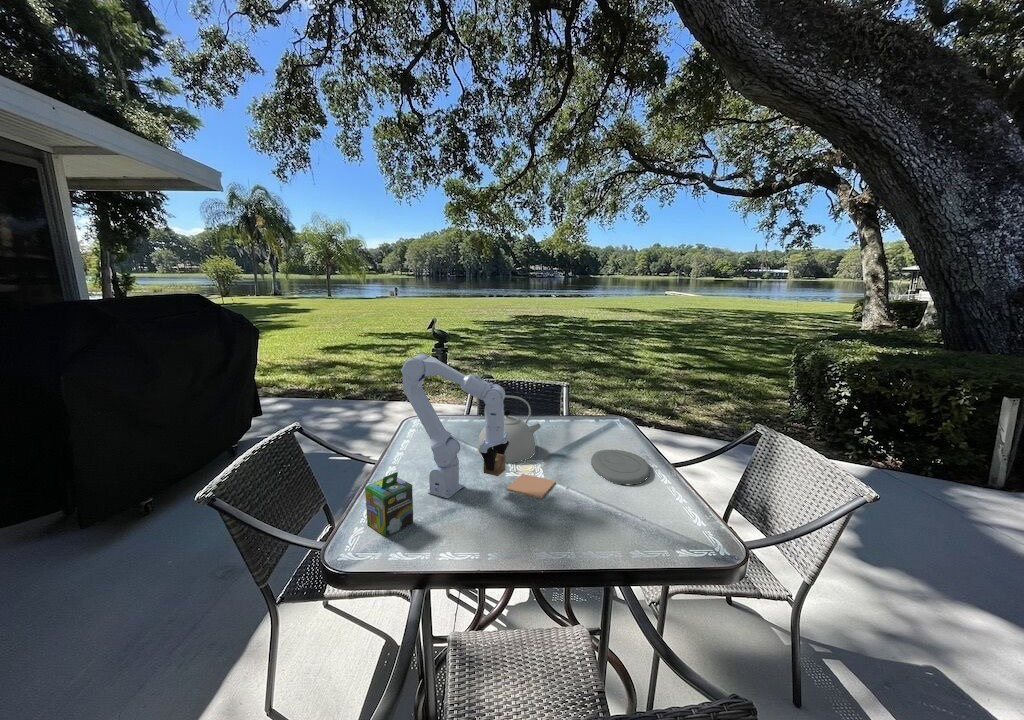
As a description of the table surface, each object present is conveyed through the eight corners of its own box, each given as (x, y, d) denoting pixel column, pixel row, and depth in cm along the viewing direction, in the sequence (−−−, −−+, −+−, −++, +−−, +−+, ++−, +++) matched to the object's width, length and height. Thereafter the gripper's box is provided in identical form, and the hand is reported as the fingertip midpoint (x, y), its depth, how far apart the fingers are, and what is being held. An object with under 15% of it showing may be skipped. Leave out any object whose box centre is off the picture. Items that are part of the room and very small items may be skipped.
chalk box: (394, 511, 121) (392, 463, 118) (414, 523, 115) (413, 472, 113) (365, 525, 114) (363, 474, 111) (385, 538, 108) (383, 484, 106)
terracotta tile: (541, 498, 129) (541, 497, 129) (506, 490, 135) (506, 488, 134) (555, 482, 140) (555, 481, 140) (522, 475, 145) (522, 473, 145)
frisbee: (601, 486, 139) (601, 479, 138) (585, 454, 165) (585, 448, 165) (662, 486, 139) (662, 479, 139) (636, 454, 166) (636, 448, 165)
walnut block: (497, 476, 129) (497, 460, 128) (483, 473, 131) (483, 457, 130) (505, 470, 133) (505, 455, 132) (491, 466, 135) (491, 452, 134)
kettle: (540, 441, 177) (541, 389, 173) (542, 464, 155) (543, 404, 151) (480, 440, 178) (480, 387, 174) (474, 462, 156) (474, 402, 152)
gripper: (494, 434, 121) (494, 478, 124) (516, 420, 134) (516, 460, 136) (473, 430, 124) (473, 473, 127) (497, 417, 137) (496, 456, 140)
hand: (494, 466), depth 132 cm, fingers closed on walnut block, 5 cm apart
